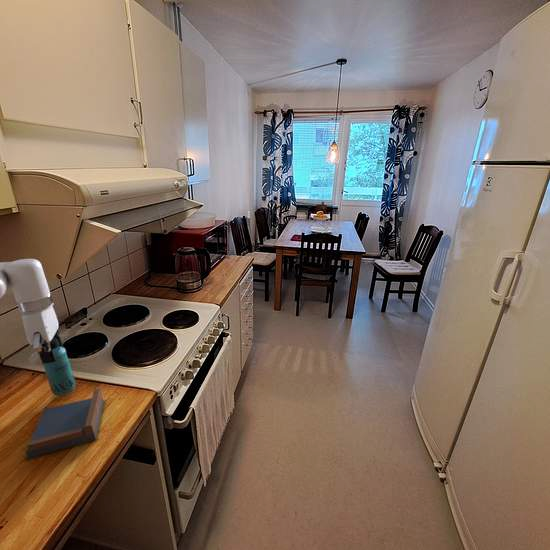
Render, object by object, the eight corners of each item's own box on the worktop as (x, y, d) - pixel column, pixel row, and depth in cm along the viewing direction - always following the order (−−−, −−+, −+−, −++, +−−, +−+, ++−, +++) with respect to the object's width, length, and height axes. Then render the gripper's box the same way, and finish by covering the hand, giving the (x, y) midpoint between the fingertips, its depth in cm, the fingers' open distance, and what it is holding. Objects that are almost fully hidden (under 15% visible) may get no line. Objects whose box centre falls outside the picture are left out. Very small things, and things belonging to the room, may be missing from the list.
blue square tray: (28, 458, 72) (21, 443, 70) (46, 415, 84) (40, 401, 82) (96, 439, 77) (91, 425, 75) (103, 401, 89) (100, 388, 87)
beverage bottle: (48, 397, 90) (28, 345, 83) (67, 383, 96) (50, 333, 89) (65, 402, 89) (46, 349, 81) (83, 386, 95) (67, 336, 87)
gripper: (30, 292, 86) (47, 341, 93) (4, 320, 71) (27, 376, 78) (60, 288, 89) (74, 336, 96) (41, 315, 74) (59, 370, 81)
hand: (53, 354), depth 87 cm, fingers closed on beverage bottle, 6 cm apart
